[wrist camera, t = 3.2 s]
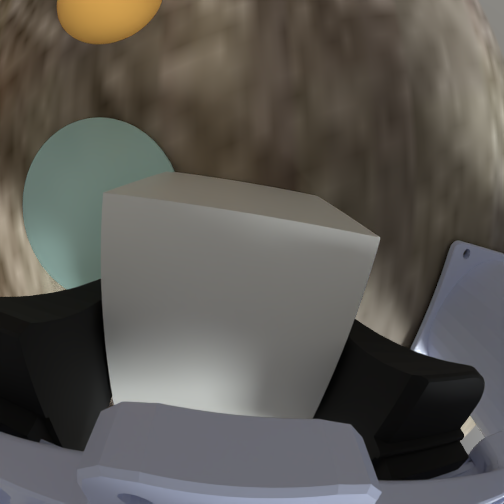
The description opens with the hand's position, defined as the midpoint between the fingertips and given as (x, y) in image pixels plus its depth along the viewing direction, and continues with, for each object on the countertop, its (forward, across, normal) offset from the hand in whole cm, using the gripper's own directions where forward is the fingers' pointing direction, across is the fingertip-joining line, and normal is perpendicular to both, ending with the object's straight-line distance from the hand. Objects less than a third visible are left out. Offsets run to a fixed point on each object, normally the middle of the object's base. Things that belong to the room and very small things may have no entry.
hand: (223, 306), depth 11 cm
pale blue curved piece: (+2, +6, -2) cm, 7 cm away
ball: (0, +6, -11) cm, 13 cm away
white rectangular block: (+2, 0, 0) cm, 2 cm away
